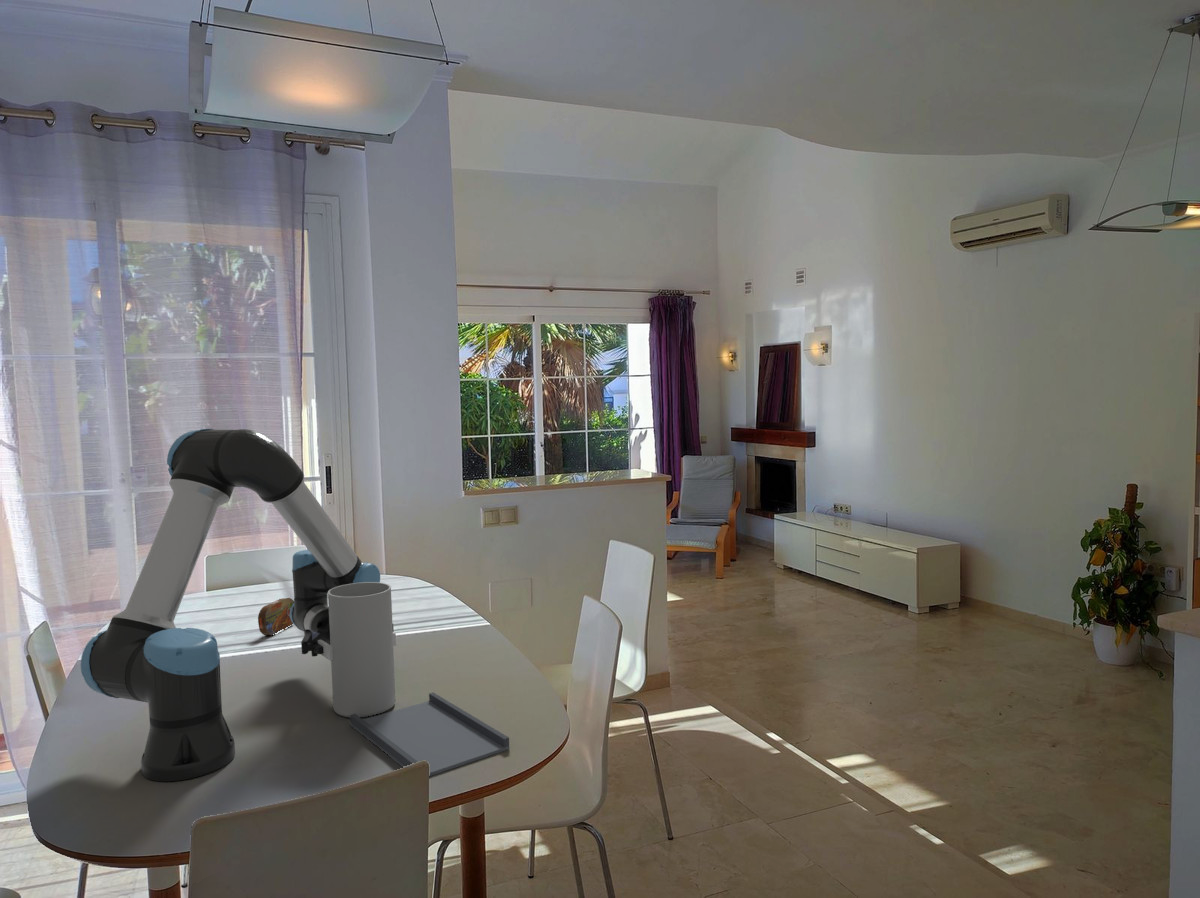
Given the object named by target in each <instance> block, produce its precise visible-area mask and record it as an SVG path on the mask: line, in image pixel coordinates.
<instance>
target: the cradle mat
mask: <svg viewBox="0 0 1200 898" xmlns="http://www.w3.org/2000/svg"><path fill="white" fill-rule="evenodd" d="M428 700H429V701H428ZM428 700H427V701H424V702H420V703H417V704H413V705H411V706H406V707H403V708H399V709H397V710H396V709H395V710H392V711H388V712H383V713H381V714H378V715H374V716H369V717H365V718H363V717H361V718H360V717H359V716H358V715H356V714H352V715H350V717H349V719H350V727H352V726H353V727H354V728H355V729H356V731H357V732H358V731H359V732H360V733H361V734H360V733H359V732H358V733H359V734H360V735H362V734H363V735H364V736H365V737H366V738H365V739H367V740H368V741H369V740H370V741H371V742H370V741H369V742H370V743H372V742H373V743H374V744H375V745H377V746H378V747H379V748H380V749H381V750H380V749H379V748H378V747H377V746H376V747H377V748H378V749H379V750H380V751H382V750H383V751H384V752H385V753H386V754H385V753H384V752H383V751H382V752H383V753H384V754H385V755H387V754H388V755H389V756H390V757H391V758H390V757H389V756H388V755H387V756H388V757H389V758H390V759H392V760H393V761H394V762H395V763H397V765H399V766H400V767H401V768H403V766H407V765H410V764H412V763H416V762H418V761H422V760H426V761H428V762H429V764H430V776H429V777H433V776H434V775H437V774H438V775H439V774H440V773H444V772H447V771H449V770H452V769H453V770H454V769H455V768H459V767H462V766H464V765H467V764H470V763H472V762H475V761H479V760H482V759H485V758H488V757H491V756H495V755H497V754H500V753H502V752H503V753H504V752H505V751H509V750H510V737H508V735H505V734H504V733H502V732H500V731H499V730H497V729H495V728H494V727H492V726H490V725H489V724H487V723H485V722H483V720H480V719H478V718H477V717H475V716H474V715H472V714H470V713H468V712H467V711H465V710H464V709H462V708H460V707H458V706H457V705H455V704H454V703H452V702H450V701H449V700H447V699H445V698H444V697H442V696H440V695H439V694H437V693H435V692H434V691H433V692H430V693H428ZM353 727H352V728H353ZM354 728H353V729H354ZM355 729H354V730H355ZM363 735H362V736H363ZM364 736H363V737H364ZM373 743H372V744H373ZM374 744H373V745H374ZM375 745H374V746H375Z"/></svg>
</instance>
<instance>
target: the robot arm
mask: <svg viewBox="0 0 1200 898" xmlns="http://www.w3.org/2000/svg"><path fill="white" fill-rule="evenodd" d="M166 457H167V458H166V465H167V466H168V468H167V470H168V473H169V476H170V480H169V481H168V483H169V487H170V488H171V490H172V492H173V494H172V496H171V499H170V501H169V504H168V506H167V509H166V510H165V513H164V516H163V518H162V521H161V523H160V525H159V528H158V530H157V533H156V534H155V538H154V540H153V543H152V545H151V546H150V550H149V552H148V554H147V556H146V559H145V560H144V564H143V565H142V566H143V567H142V569H141V571H140V573H139V576H138V578H137V581H136V583H135V585H134V587H133V591H132V592H131V595H130V598H129V600H128V603H127V604H126V607H125V609H124V610H123V611H120V612H119V613H116V614H115V615H112V618H111V619H110V623H109V625H108V627H107V629H106V630H103V631H101V632H99V633H97V635H95V636H93V637H92V638H90V639H89V641H88V642H87V644H86V645H85V646H84V649H83V651H82V655H81V656H80V657H81V658H80V672H81V676H82V677H83V680H84V682H85V683H86V685H87V686H88V687H89V689H91V690H92V691H94V692H96V693H98V694H101V695H105V696H107V697H110V698H114V699H125V700H132V701H137V702H143V703H147V704H148V712H149V713H148V714H149V715H148V716H149V731H148V734H147V739H146V743H145V747H144V752H143V753H142V756H141V759H140V764H141V767H140V768H141V774H142V776H143V777H145V778H146V779H148V780H151V781H156V782H175V781H176V782H177V781H183V780H184V781H185V780H190V779H193V778H198V777H201V776H205V775H208V774H210V773H212V772H215V771H217V770H219V769H222V768H224V767H225V766H226V765H227V764H229V763H230V762H231V761H233V759H234V758H235V755H236V744H235V743H236V742H235V739H234V737H233V735H232V734H231V731H230V728H229V726H228V723H227V722H226V719H225V717H224V715H223V705H222V684H221V682H222V681H221V679H222V678H221V662H220V660H221V658H220V657H221V656H220V651H219V648H218V642H217V639H216V637H215V636H214V635H213V634H212V633H211V632H209V631H206V630H205V629H204V630H203V629H199V628H197V627H196V628H195V627H185V628H181V627H176V625H175V621H174V620H175V618H176V616H177V613H178V611H179V608H180V605H181V603H182V600H183V598H184V595H185V593H186V590H187V587H188V585H189V584H190V583H189V582H190V580H191V577H192V575H193V572H194V570H195V567H196V565H197V562H198V559H199V557H200V554H201V551H202V549H203V547H204V544H205V541H206V539H207V536H208V534H209V531H210V529H211V526H212V523H213V521H214V518H215V516H216V513H217V511H218V508H219V507H221V506H223V505H225V504H227V503H228V502H230V499H231V497H232V494H233V491H234V489H235V488H236V487H237V488H245V489H248V490H251V491H252V492H255V493H256V494H257V495H258V497H260V498H261V500H262V501H263V502H264V503H266V504H267V503H269V504H270V503H271V505H272V506H273V507H274V508H275V509H276V511H277V512H278V513H279V514H280V516H281V517H282V518H283V519H284V521H285V522H286V524H287V525H288V526H289V528H291V529H292V531H293V532H294V534H295V535H296V536H297V538H299V540H300V541H301V543H302V544H303V545H304V546H305V548H306V549H304V550H298V551H297V552H295V553H294V554H293V555H292V568H291V572H292V585H293V601H294V603H293V605H292V607H291V609H290V619H291V621H292V622H293V625H294V626H295V628H297V629H298V630H300V631H302V632H303V633H304V635H303V638H302V640H301V642H300V644H301V654H302V655H306V654H307V655H308V653H309V652H311V657H312V658H313V657H318V656H319V655H321V656H322V657H323V658H325V659H326V660H329V661H331V660H333V649H332V646H331V645H330V626H329V605H328V591H329V590H330V589H332V588H335V587H338V586H341V585H346V584H352V583H362V582H379V583H381V572H380V569H379V567H378V566H377V565H376V564H375V563H370V562H367V561H365V562H363V561H362V560H361V559H360V557H359V556H358V555H357V553H356V552H355V550H354V549H353V548H352V546H351V545H350V544H349V542H348V541H347V539H346V538H345V537H344V535H343V534H342V532H341V531H340V530H339V528H338V527H337V526H336V524H335V523H334V521H333V520H332V519H331V518H330V516H329V514H327V512H326V510H325V509H324V508H323V506H322V505H321V503H320V502H319V501H318V500H317V498H316V497H315V495H314V494H313V493H312V491H311V490H310V488H309V487H308V485H306V483H305V481H304V480H305V474H304V472H303V470H302V469H301V468H300V466H299V465H298V464H297V463H296V461H295V459H294V458H293V457H292V456H290V454H289V453H288V452H287V451H286V450H285V449H284V448H283V447H282V446H280V445H279V444H278V443H277V442H276V441H275V440H273V439H272V438H270V437H269V436H267V435H265V434H263V433H261V432H259V431H256V430H253V429H247V428H241V429H239V428H238V429H214V428H201V429H196V430H191V431H187V432H185V433H183V434H181V435H180V436H178V437H177V438H176V440H174V441H173V443H172V445H171V446H170V448H169V450H168V454H167V456H166ZM392 624H393V625H394V623H393V622H392ZM396 637H397V635H396V632H394V627H393V647H395V646H397V638H396Z"/></svg>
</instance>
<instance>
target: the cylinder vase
mask: <svg viewBox="0 0 1200 898" xmlns="http://www.w3.org/2000/svg"><path fill="white" fill-rule="evenodd" d="M327 597H328V607H329V626H330V645H331V646H332V649H333V660H330V665H331V666H330V667H331V684H332V686H331V687H332V704H333V708H332V709H333V710H334V711H333V712H335V713H336V714H337V715H339V716H341V717H345V718H350V715H352V714H356V715H358V716H359V717H361V718H369V717H374V716H377V715H376V714H378V715H381V714H384V713H386V712H387V711H389V710H390V709H392V708H393V707H394V705H395V704H396V697H397V696H396V678H395V676H396V675H395V674H396V672H395V654H394V652H395V651H394V650H395V649H394V648H395V647H394V646H393V628H394V623H393V603H392V602H393V601H392V586H391V585H390V584H388V583H385V582H380V583H379V582H362V583H352V584H346V585H341V586H338V587H335V588H332V589H330V590H329V591H328V596H327ZM392 623H393V624H392ZM380 713H381V714H380ZM373 715H374V716H373ZM368 716H369V717H368Z"/></svg>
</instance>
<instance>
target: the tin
mask: <svg viewBox="0 0 1200 898" xmlns="http://www.w3.org/2000/svg"><path fill="white" fill-rule="evenodd" d="M293 603H294V599H293V598H291V597H285V598H284V597H283V598H279V599H276V600H275V601H273V602H270V603H268V604H266V605H264V606H263V607H261V608H260V611H259V612H258V616H257V621H258V622H257V623H258V624H257V625H258V629H259V632H260V633H261V635H263V636H272V635H273V634H275V633H277V632H278V631H280V630H282V629H285V628H286V627H288V626H290V625H292V624H293V622H292V621H291V619H290V609H291V607H292V605H293ZM293 625H294V624H293ZM293 625H292V626H293Z"/></svg>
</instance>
